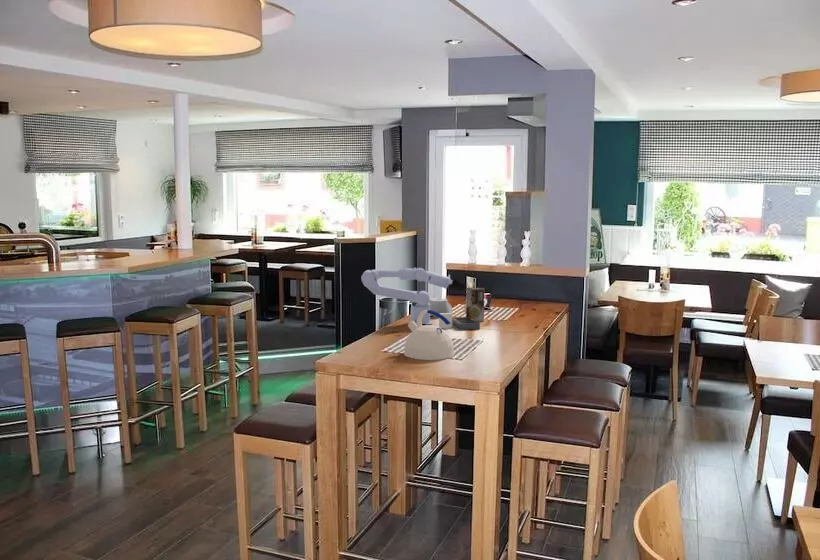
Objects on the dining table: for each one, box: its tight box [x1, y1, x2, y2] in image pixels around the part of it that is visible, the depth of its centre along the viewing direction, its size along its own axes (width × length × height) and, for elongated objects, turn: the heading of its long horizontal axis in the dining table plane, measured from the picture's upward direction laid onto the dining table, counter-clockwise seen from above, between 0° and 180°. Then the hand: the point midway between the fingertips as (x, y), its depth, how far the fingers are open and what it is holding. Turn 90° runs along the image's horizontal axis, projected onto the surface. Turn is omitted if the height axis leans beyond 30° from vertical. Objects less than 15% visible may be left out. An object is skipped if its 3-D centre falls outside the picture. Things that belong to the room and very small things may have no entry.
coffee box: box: [465, 287, 485, 322], centre depth 359 cm, size 9×6×16 cm
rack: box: [452, 316, 481, 331], centre depth 344 cm, size 10×16×3 cm, turn 13°
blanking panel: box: [438, 312, 453, 329], centre depth 339 cm, size 6×2×7 cm, turn 103°
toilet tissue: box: [429, 297, 453, 318], centre depth 372 cm, size 9×13×9 cm
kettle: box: [403, 310, 455, 361], centre depth 285 cm, size 20×21×18 cm
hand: (464, 287), depth 348 cm, fingers open, 7 cm apart
